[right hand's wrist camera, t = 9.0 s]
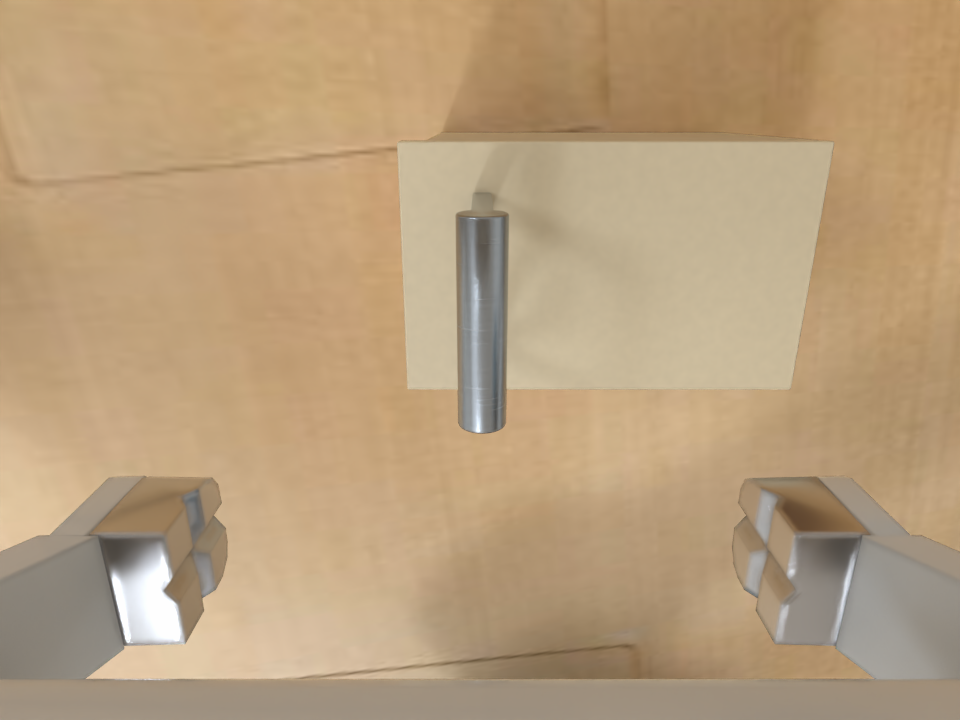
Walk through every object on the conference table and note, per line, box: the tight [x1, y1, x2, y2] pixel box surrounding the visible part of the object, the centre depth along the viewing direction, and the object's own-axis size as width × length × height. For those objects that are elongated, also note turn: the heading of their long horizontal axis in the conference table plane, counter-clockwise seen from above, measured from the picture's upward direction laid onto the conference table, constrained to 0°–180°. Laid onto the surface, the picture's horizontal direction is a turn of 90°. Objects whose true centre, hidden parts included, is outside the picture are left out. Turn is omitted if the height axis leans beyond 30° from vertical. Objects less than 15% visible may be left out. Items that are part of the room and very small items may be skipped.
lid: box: [397, 140, 834, 433], centre depth 23 cm, size 16×10×8 cm, turn 90°
